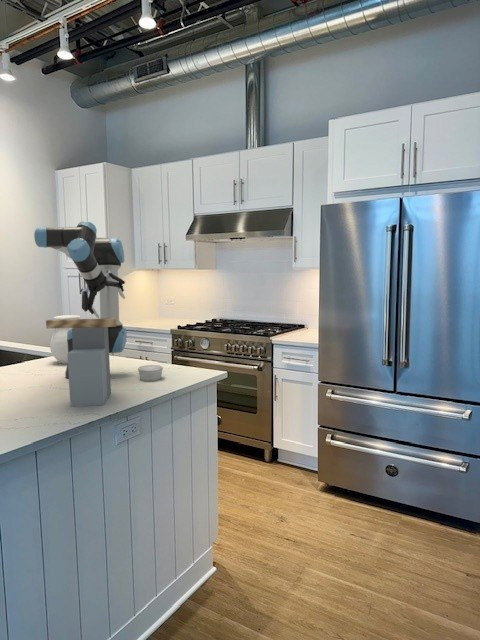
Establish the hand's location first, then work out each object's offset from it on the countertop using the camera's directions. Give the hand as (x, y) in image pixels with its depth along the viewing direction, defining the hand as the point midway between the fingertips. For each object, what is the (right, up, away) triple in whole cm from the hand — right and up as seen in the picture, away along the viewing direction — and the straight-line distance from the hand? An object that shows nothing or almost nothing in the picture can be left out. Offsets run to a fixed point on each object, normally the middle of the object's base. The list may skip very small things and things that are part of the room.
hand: (110, 306), depth 196 cm
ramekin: (+14, -33, +15) cm, 39 cm away
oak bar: (-6, -8, -16) cm, 19 cm away
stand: (-3, -37, -16) cm, 40 cm away
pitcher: (-37, -29, +54) cm, 71 cm away
